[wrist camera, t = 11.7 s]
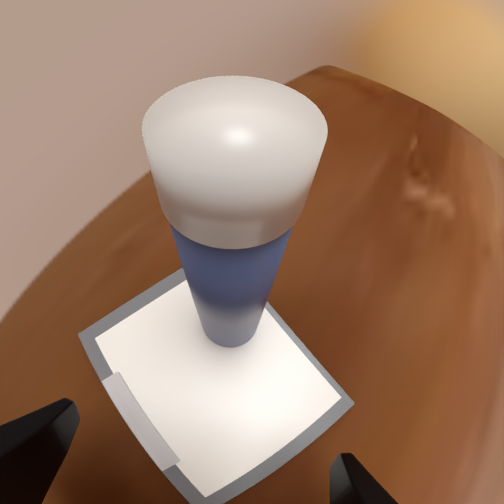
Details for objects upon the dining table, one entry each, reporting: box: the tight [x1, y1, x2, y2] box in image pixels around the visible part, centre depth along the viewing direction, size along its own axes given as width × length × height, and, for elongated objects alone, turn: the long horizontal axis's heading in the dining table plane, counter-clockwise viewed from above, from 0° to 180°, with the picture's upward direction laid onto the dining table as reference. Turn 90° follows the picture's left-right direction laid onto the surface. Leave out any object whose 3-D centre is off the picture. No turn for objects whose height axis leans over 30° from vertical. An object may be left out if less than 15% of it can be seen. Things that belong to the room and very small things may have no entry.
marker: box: [142, 76, 328, 348], centre depth 10 cm, size 3×3×13 cm
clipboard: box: [78, 267, 355, 504], centre depth 14 cm, size 11×13×1 cm
